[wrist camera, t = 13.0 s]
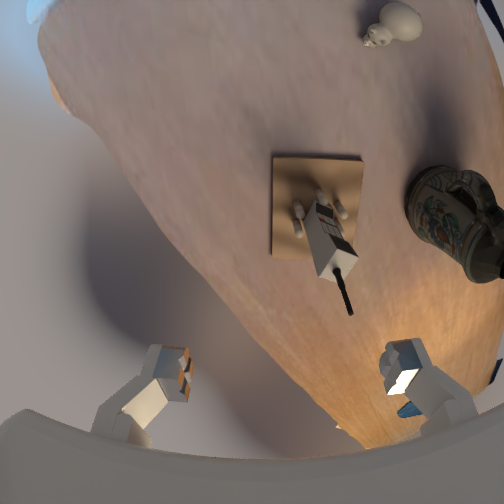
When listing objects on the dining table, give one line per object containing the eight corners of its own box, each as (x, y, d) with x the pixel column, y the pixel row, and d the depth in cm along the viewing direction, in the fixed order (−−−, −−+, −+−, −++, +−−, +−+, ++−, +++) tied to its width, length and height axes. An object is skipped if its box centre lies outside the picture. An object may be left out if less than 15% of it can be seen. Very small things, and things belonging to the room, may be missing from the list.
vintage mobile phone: (332, 206, 50) (379, 299, 29) (319, 228, 52) (354, 329, 31) (314, 198, 49) (353, 290, 28) (302, 221, 52) (328, 322, 30)
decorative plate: (411, 417, 112) (413, 425, 108) (386, 411, 102) (388, 420, 98) (458, 390, 98) (461, 399, 94) (441, 380, 88) (444, 390, 84)
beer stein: (430, 247, 55) (486, 325, 34) (378, 199, 50) (443, 279, 29) (473, 195, 47) (545, 256, 26) (427, 136, 42) (520, 183, 21)
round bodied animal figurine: (348, 27, 35) (348, 26, 29) (398, -2, 27) (406, -7, 21) (374, 58, 37) (378, 63, 32) (423, 30, 29) (436, 31, 24)
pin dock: (272, 156, 46) (274, 165, 41) (361, 160, 46) (374, 170, 41) (271, 255, 57) (273, 274, 52) (348, 254, 57) (356, 272, 51)
